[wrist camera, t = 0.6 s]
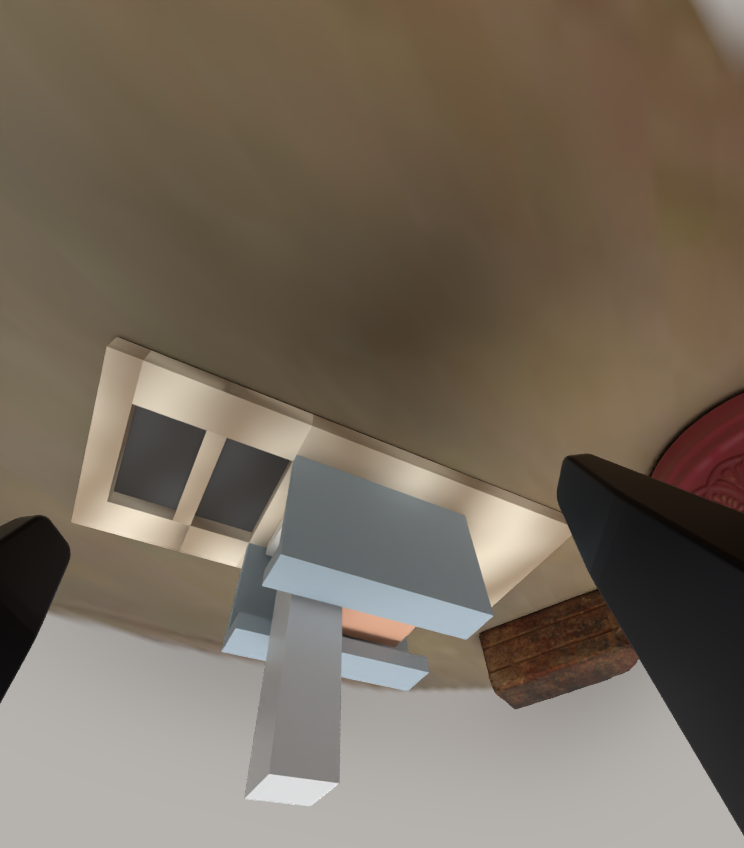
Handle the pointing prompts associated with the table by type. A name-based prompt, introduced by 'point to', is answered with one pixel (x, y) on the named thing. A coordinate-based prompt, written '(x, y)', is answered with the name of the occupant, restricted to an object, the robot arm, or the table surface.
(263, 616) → the light blue blocks
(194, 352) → the table surface
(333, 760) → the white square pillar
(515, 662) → the brick
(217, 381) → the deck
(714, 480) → the canister
